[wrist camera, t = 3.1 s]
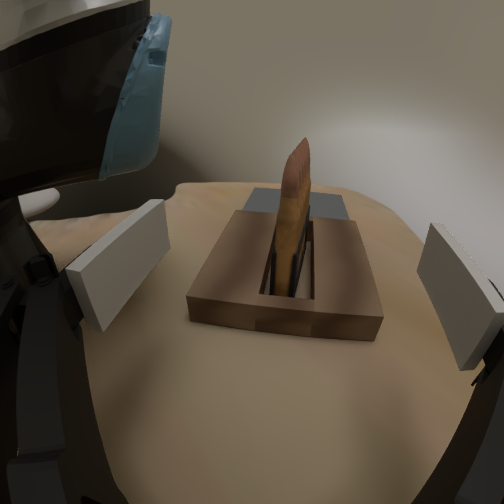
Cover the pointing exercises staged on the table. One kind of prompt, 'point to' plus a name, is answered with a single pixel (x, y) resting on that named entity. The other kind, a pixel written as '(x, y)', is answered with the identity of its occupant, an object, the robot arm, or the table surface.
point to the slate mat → (318, 203)
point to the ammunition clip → (291, 223)
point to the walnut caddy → (287, 308)
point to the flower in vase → (38, 201)
